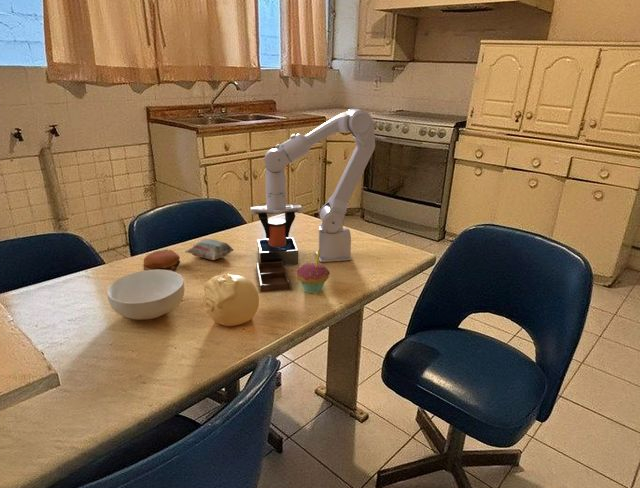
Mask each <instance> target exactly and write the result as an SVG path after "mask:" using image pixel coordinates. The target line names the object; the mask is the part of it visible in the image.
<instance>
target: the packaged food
mask: <svg viewBox="0 0 640 488" xmlns="http://www.w3.org/2000/svg"><path fill="white" fill-rule="evenodd" d="M233 251H235V249H234V248H233V246H231V245H230V244H228V243H227V242H224V241H220V240H216V239H212V238H204V239H202V240H200V241H198V242H197V243H195V244H194V245H193V246H192V247H190V248H189V249H187V250H185V251H184V252H185V253H188V254H191V255H192V256H194V257H197V258H198V257H199V258H203V259H206V260H210V261H215V260H219V259H221V258H223V257H224V256H227V255H229V254H230V253H231V252H233Z"/></svg>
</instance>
